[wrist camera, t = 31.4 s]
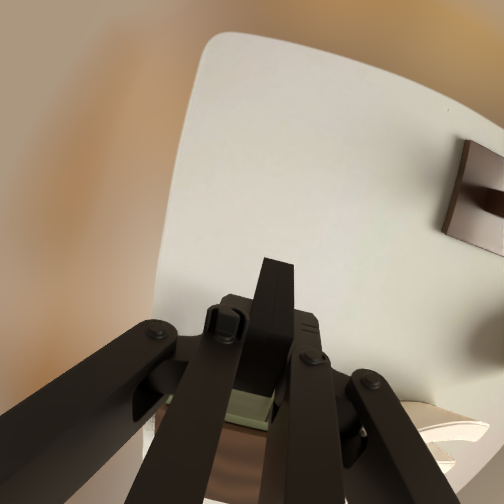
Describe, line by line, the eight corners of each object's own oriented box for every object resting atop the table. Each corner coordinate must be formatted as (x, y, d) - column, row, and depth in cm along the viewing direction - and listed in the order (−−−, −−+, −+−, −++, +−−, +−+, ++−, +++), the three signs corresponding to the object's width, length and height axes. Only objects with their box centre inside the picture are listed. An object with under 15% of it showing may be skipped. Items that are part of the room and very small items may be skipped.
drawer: (199, 302, 33) (170, 348, 24) (315, 332, 32) (320, 386, 24) (179, 423, 39) (160, 470, 30) (266, 446, 38) (260, 496, 30)
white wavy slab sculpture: (387, 359, 33) (411, 423, 23) (475, 385, 33) (505, 435, 23) (271, 496, 44) (265, 544, 34) (349, 508, 44) (352, 551, 34)
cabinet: (187, 346, 36) (155, 407, 26) (301, 376, 35) (301, 444, 25) (176, 427, 40) (153, 482, 30) (267, 451, 40) (259, 509, 30)
